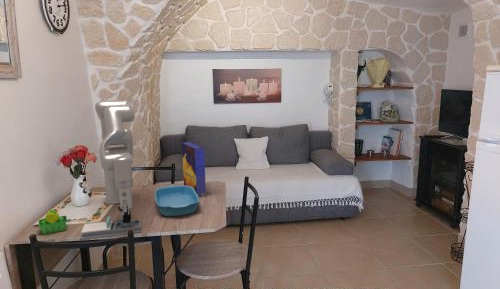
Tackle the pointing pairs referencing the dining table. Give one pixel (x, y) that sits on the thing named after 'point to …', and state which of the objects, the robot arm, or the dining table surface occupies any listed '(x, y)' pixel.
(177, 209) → the casserole dish
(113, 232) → the dock
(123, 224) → the push button
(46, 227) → the fruit basket
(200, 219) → the dining table surface
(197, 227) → the dining table surface
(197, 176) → the cereal box
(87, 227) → the shutter lid
